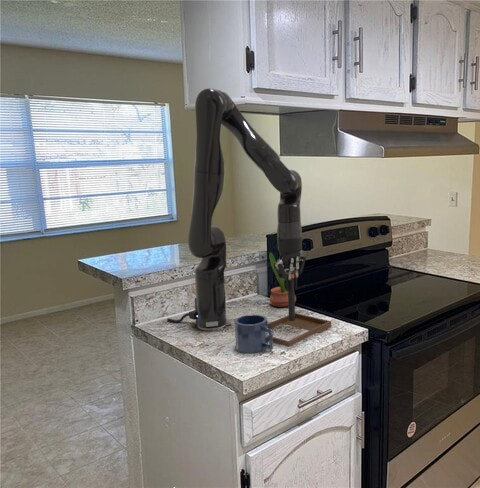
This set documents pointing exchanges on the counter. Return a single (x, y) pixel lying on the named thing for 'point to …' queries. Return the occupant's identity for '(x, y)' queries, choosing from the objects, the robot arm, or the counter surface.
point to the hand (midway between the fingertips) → (291, 289)
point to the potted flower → (278, 289)
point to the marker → (291, 301)
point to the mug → (252, 334)
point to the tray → (301, 322)
